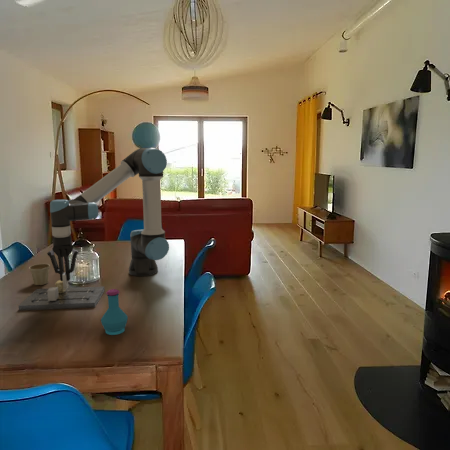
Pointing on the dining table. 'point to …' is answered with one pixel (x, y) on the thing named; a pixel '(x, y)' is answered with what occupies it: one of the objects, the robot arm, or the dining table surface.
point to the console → (63, 299)
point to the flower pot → (40, 273)
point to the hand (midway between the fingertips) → (66, 287)
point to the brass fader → (60, 286)
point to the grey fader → (53, 294)
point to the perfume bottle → (114, 315)
